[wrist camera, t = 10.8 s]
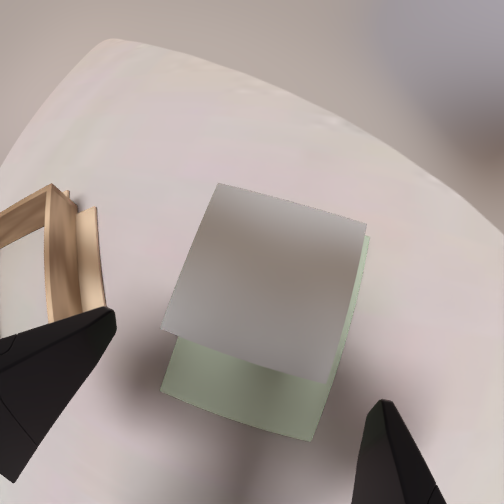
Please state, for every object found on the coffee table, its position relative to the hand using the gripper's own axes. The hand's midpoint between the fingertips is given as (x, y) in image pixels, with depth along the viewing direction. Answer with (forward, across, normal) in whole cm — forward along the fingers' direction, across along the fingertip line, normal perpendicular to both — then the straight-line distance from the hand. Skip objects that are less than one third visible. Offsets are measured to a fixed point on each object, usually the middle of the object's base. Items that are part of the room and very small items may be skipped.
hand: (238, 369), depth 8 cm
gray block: (+9, 0, +4) cm, 10 cm away
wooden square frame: (+5, +20, +8) cm, 22 cm away
